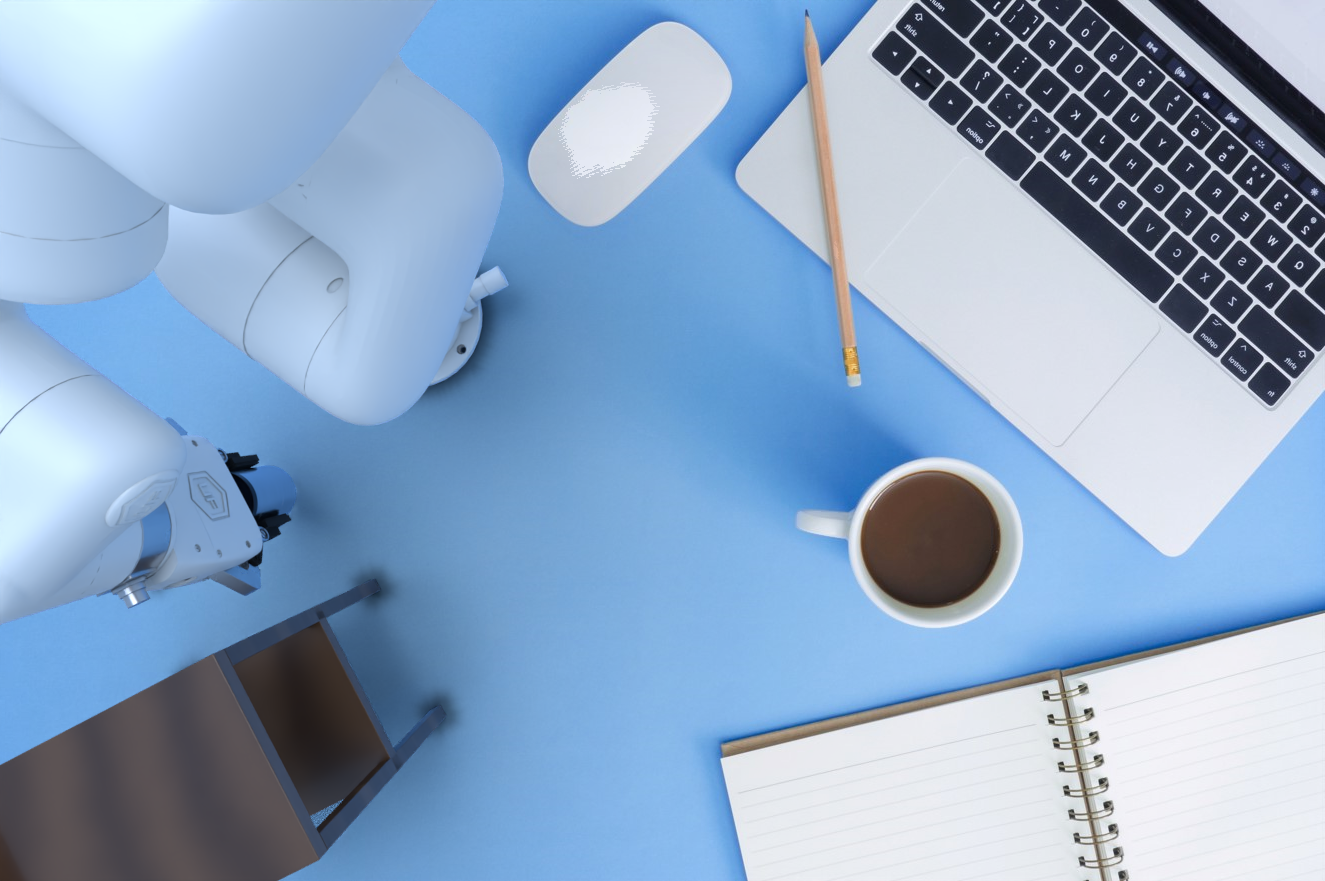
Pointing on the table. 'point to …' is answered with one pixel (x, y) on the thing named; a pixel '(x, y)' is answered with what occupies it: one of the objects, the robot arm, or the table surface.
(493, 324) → the table surface
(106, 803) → the top shelf
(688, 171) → the table surface
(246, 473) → the steel tin
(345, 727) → the rack frame
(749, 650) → the table surface
